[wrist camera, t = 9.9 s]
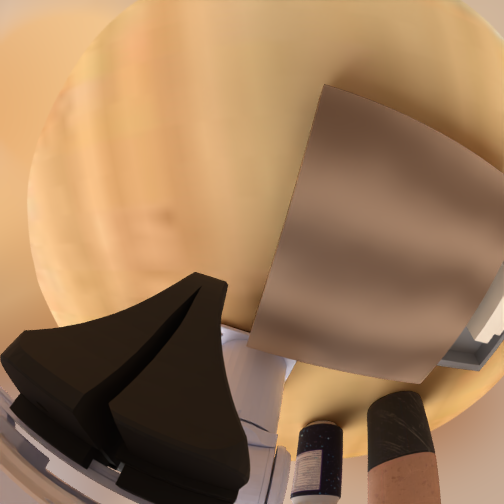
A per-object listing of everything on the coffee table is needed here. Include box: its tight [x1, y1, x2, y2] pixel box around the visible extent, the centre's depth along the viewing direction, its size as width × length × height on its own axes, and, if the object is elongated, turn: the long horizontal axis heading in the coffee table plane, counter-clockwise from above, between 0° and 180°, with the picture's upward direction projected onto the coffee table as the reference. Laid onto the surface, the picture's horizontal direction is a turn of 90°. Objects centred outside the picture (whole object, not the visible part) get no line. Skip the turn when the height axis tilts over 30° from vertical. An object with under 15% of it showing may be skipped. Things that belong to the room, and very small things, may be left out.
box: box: [437, 327, 504, 371], centre depth 17 cm, size 16×9×2 cm, turn 166°
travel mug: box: [367, 391, 441, 504], centre depth 17 cm, size 8×8×20 cm
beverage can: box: [291, 421, 343, 504], centre depth 24 cm, size 6×6×12 cm
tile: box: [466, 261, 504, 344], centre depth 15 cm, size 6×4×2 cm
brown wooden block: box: [246, 84, 504, 384], centre depth 17 cm, size 18×16×4 cm
